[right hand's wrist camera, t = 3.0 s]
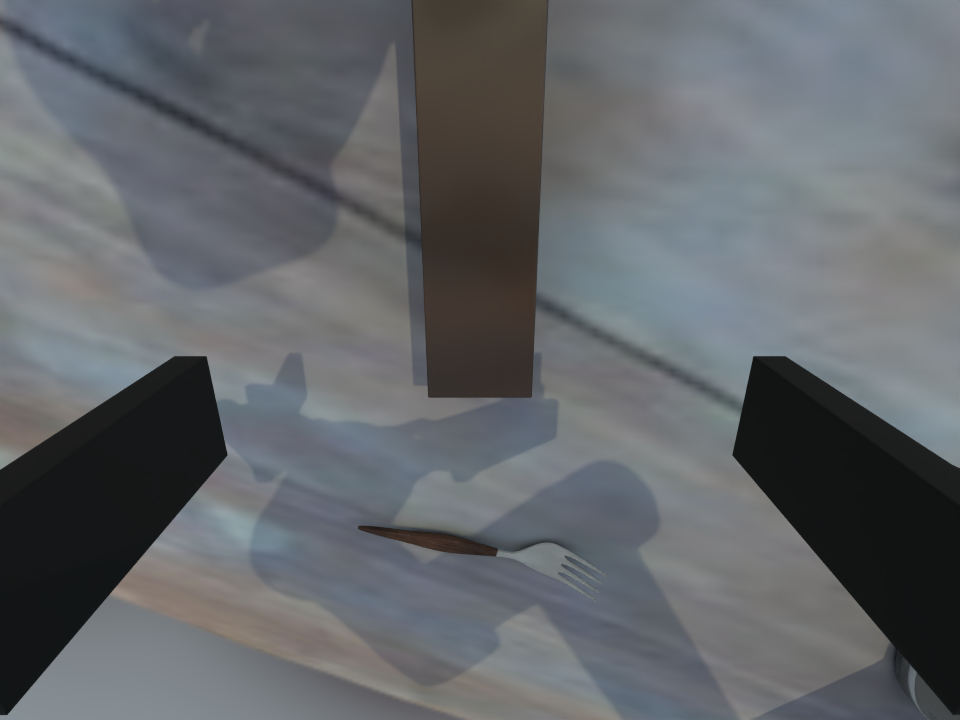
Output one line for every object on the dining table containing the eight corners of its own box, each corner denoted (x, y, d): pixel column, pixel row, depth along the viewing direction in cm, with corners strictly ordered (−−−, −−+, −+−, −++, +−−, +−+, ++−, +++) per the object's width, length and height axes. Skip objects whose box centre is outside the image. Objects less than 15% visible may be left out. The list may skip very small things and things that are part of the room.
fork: (362, 505, 32) (355, 526, 31) (601, 551, 34) (608, 573, 32) (357, 537, 33) (349, 559, 31) (589, 580, 35) (595, 604, 33)
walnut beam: (520, 343, 29) (531, 398, 22) (439, 343, 29) (428, 398, 22) (545, -479, 17) (584, -855, 11) (414, -478, 18) (375, -855, 11)
